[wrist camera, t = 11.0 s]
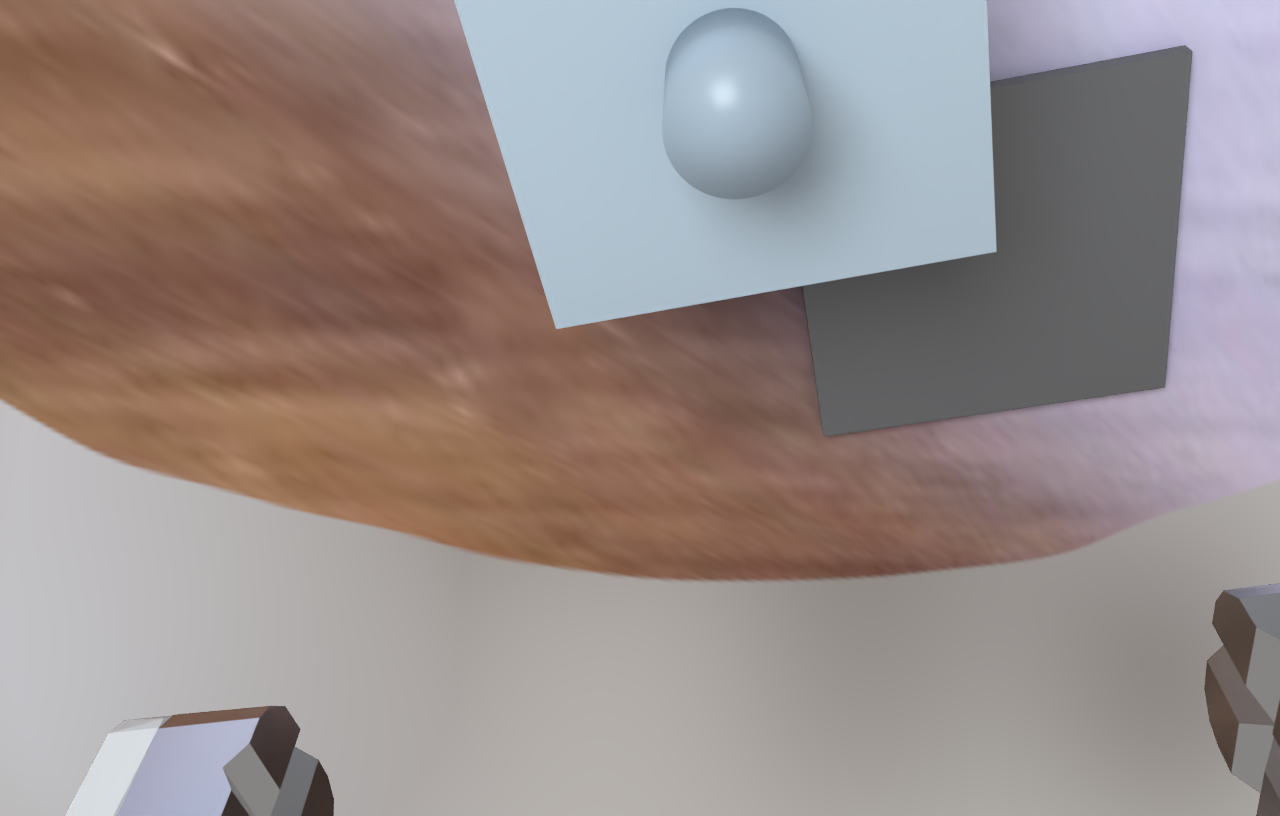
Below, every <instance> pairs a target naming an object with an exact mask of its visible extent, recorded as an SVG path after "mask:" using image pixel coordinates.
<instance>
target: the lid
mask: <svg viewBox="0 0 1280 816" xmlns="http://www.w3.org/2000/svg"><path fill="white" fill-rule="evenodd" d="M454 1H455V4H456V8H457V11H458V14H459V17H460V20H461V24H462V27H463V30H464V33H465V37H466V40H467V43H468V46H469V49H470V53H471V56H472V59H473V62H474V66H475V69H476V72H477V75H478V78H479V82H480V85H481V88H482V91H483V95H484V98H485V101H486V104H487V107H488V111H489V114H490V117H491V120H492V124H493V127H494V130H495V133H496V136H497V140H498V143H499V146H500V149H501V153H502V156H503V159H504V162H505V165H506V169H507V172H508V175H509V178H510V182H511V185H512V188H513V191H514V194H515V198H516V201H517V204H518V207H519V211H520V214H521V217H522V220H523V223H524V227H525V230H526V233H527V236H528V240H529V243H530V246H531V249H532V252H533V256H534V259H535V262H536V265H537V269H538V272H539V275H540V278H541V281H542V285H543V288H544V291H545V294H546V298H547V301H548V304H549V307H550V310H551V314H552V317H553V320H554V323H555V327H556V329H559V328H565V327H571V326H576V325H582V324H588V323H594V322H599V321H605V320H611V319H616V318H622V317H628V316H633V315H639V314H645V313H650V312H656V311H662V310H668V309H673V308H679V307H685V306H690V305H696V304H702V303H707V302H713V301H719V300H725V299H730V298H736V297H742V296H747V295H753V294H759V293H764V292H770V291H776V290H781V289H787V288H793V287H799V286H804V285H810V284H816V283H821V282H827V281H833V280H838V279H844V278H850V277H855V276H861V275H867V274H873V273H878V272H884V271H890V270H895V269H901V268H907V267H912V266H918V265H924V264H929V263H935V262H941V261H947V260H952V259H958V258H964V257H969V256H975V255H981V254H986V253H992V252H997V250H996V224H995V198H994V172H993V147H992V121H991V95H990V69H989V44H988V18H987V0H454Z"/></svg>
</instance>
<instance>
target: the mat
mask: <svg viewBox="0 0 1280 816" xmlns="http://www.w3.org/2000/svg"><path fill="white" fill-rule="evenodd" d="M1191 60H1192V51H1191V50H1190V49H1189V48H1188V47H1186V46H1180V47H1174V48H1169V49H1164V50H1158V51H1153V52H1148V53H1142V54H1137V55H1132V56H1126V57H1121V58H1116V59H1110V60H1105V61H1100V62H1094V63H1089V64H1084V65H1078V66H1073V67H1068V68H1062V69H1057V70H1052V71H1046V72H1041V73H1036V74H1030V75H1025V76H1020V77H1014V78H1009V79H1004V80H998V81H993V82H990V95H991V121H992V147H993V172H994V198H995V224H996V250H997V252H992V253H986V254H981V255H975V256H969V257H964V258H958V259H952V260H947V261H941V262H935V263H929V264H924V265H918V266H912V267H907V268H901V269H895V270H890V271H884V272H878V273H873V274H867V275H861V276H855V277H850V278H844V279H838V280H833V281H827V282H821V283H816V284H810V285H804V286H802V287H803V294H804V302H805V309H806V316H807V323H808V330H809V337H810V344H811V351H812V359H813V366H814V373H815V380H816V387H817V394H818V401H819V408H820V416H821V423H822V429H823V435H824V436H831V435H838V434H845V433H852V432H859V431H866V430H873V429H880V428H887V427H894V426H901V425H908V424H914V423H921V422H928V421H935V420H942V419H949V418H956V417H963V416H970V415H977V414H984V413H991V412H998V411H1005V410H1012V409H1019V408H1026V407H1033V406H1040V405H1047V404H1054V403H1061V402H1067V401H1074V400H1081V399H1088V398H1095V397H1102V396H1109V395H1116V394H1123V393H1130V392H1137V391H1144V390H1151V389H1158V388H1165V382H1166V370H1167V357H1168V345H1169V332H1170V320H1171V308H1172V295H1173V283H1174V270H1175V258H1176V246H1177V233H1178V221H1179V209H1180V196H1181V184H1182V171H1183V159H1184V147H1185V134H1186V122H1187V110H1188V97H1189V85H1190V72H1191Z"/></svg>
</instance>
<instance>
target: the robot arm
mask: <svg viewBox="0 0 1280 816" xmlns="http://www.w3.org/2000/svg"><path fill="white" fill-rule="evenodd" d="M1212 624H1213V626H1214V628H1215V629H1216V631H1217V633H1218V635H1219V637H1220V639H1221V641H1222V643H1223V644H1224V645H1223V646H1222V647H1221V648H1220V649H1219V650H1218V651H1217V652H1216V653H1215V654H1214V655H1213V656H1211V657H1210V658H1209V659H1208V660H1207V667H1206V677H1205V695H1206V701H1207V707H1208V714H1209V720H1210V724H1211V726H1212V729H1213V732H1214V735H1215V738H1216V741H1217V744H1218V747H1219V749H1220V751H1221V753H1222V755H1223V757H1224V759H1225V761H1226V763H1227V765H1228V767H1229V770H1230V771H1231V773H1232V774H1233V775H1235V776H1236V777H1238V778H1239V779H1240V780H1242V781H1243V782H1245V783H1246V784H1248V785H1249V786H1251V787H1252V788H1253V789H1255V790H1256V791H1258V792H1259V793H1261V794H1260V799H1259V805H1258V810H1257V815H1256V816H1280V583H1277V584H1269V585H1262V586H1254V587H1246V588H1239V589H1232V590H1224V591H1223V592H1222V593H1221V595H1220V596H1219V598H1218V599H1217V601H1216V603H1215V609H1214V615H1213V622H1212ZM299 732H300V728H299V726H298V725H297V723H296V722H295V720H294V719H293V717H292V716H291V714H290V713H289V711H288V710H287V708H286V707H285V706H265V707H254V708H243V709H233V710H221V711H211V712H200V713H189V714H178V715H173V716H163V717H154V718H143V719H134V720H124V721H123V722H122V723H120V724H119V725H118V726H117V727H116V728H114V729H113V730H112V731H111V732H109V733H108V735H107V736H106V738H105V740H104V742H103V744H102V746H101V748H100V750H99V752H98V753H97V755H96V757H95V759H94V761H93V763H92V765H91V767H90V769H89V771H88V772H87V774H86V776H85V778H84V780H83V782H82V784H81V786H80V788H79V790H78V791H77V793H76V795H75V797H74V799H73V801H72V803H71V805H70V807H69V808H68V810H67V812H66V814H65V816H333V814H334V798H333V794H332V790H331V786H330V783H329V779H328V776H327V774H326V772H325V771H324V769H323V767H322V765H321V763H320V762H319V760H318V759H316V758H314V757H313V756H311V755H309V754H307V753H305V752H303V751H302V750H300V749H298V748H296V747H295V744H296V741H297V738H298V735H299Z"/></svg>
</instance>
